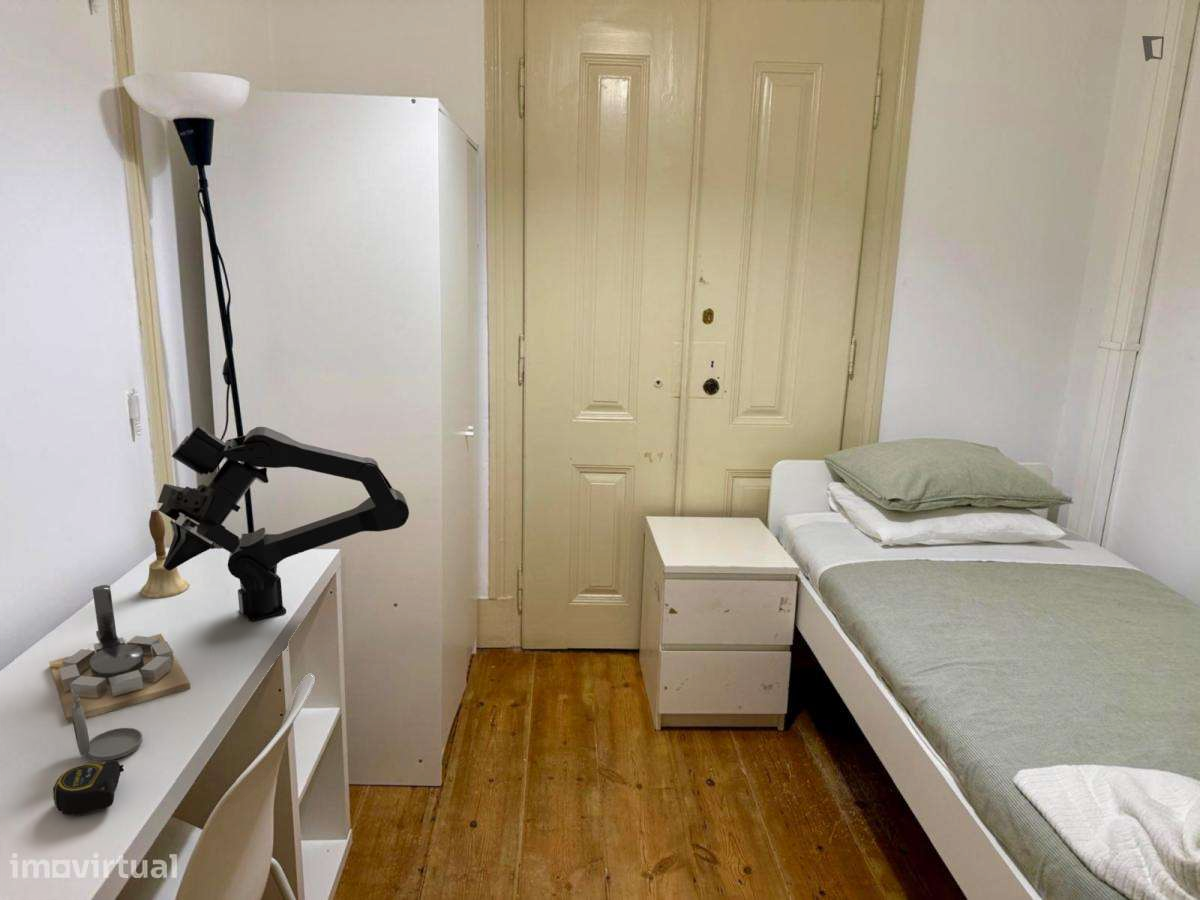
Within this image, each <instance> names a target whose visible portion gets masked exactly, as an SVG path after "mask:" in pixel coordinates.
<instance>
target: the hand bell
mask: <svg viewBox="0 0 1200 900" xmlns="http://www.w3.org/2000/svg"><path fill="white" fill-rule="evenodd" d="M165 524H166V523H165V521H164V517H163V516H162V514H161V512H160V511H159V510H158V509H152V510H151V511H150V517H149V522H148V527H149V532H150V535H151V538H152V540H153V541H154V542H153V543H154V547H155V549H154V550H155V556H156V559H155V560H153V561H152V562H150V564H149V567H148V568H149V569H148V577H147V581H146V582H145V584H144V585H143V586H142V588H141V589H140V594H141V596H143V597H145V598H148V599H165V598H171V597H175V596H177V595H180V594H182V593H184V592H186V591H187V590H188V589H189V587H190V583H189V582H188V581H187V580H186V579H185V578H183V577H182V576H181V574H180V572H179V570H178V566H177V567H176V568H174V569H172V570H170V571H169V570H167V569H165V568H164V567H163V565H164V563H165V560H166V557H167V551H166V547H165V535H166V525H165Z"/></svg>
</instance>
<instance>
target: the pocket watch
mask: <svg viewBox="0 0 1200 900" xmlns="http://www.w3.org/2000/svg"><path fill="white" fill-rule="evenodd" d="M71 693H72V695H73V697H74V703H75V705H73V706H72V719H73V722H72V725H73V731H74V735H75V741H76V744H77V749H78V752H79V754H80V756H87V757H89V759H92V760H95V761H100V762H101V761H103V762H104V761H111V760H116V759H118V758H122V757H125V756H127V755H129V754H131V753H133V752H134V751H136V750H137V749H138V748H139V746H140V745H141V744H142V741H143V734H142V732H141V731H140V730H139V729H136V728H133V727H119V728H114V729H110V730H107V731H104V732H102V733H99V734H97V735H96V736H94V737H93V738H92V739H90V736H89V730H88V725H87V720H86V719H87V718H85V715H84V711H83V708H82V706H81V705H80V698H79V696H78V695H76V694H75V692H74V690H73V689H71Z"/></svg>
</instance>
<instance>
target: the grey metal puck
mask: <svg viewBox="0 0 1200 900" xmlns="http://www.w3.org/2000/svg"><path fill="white" fill-rule="evenodd" d="M90 665H91V672H92V677H99V678H106V681H107V685H109V679H108V678H110V677H114V676H118V675H121V674H125V673H129V672H133V671H136V670H139V672H140V674H141V670H140V669H141V668H142V667H144V660H143V652H142V649H141V647H139V646H137V645H131V644H124V645H116V646H112V647H108V648H105V649H103V650H100V651H98V652H97V653H95V654H94V655H93V656H92V657H91V658H90Z"/></svg>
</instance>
